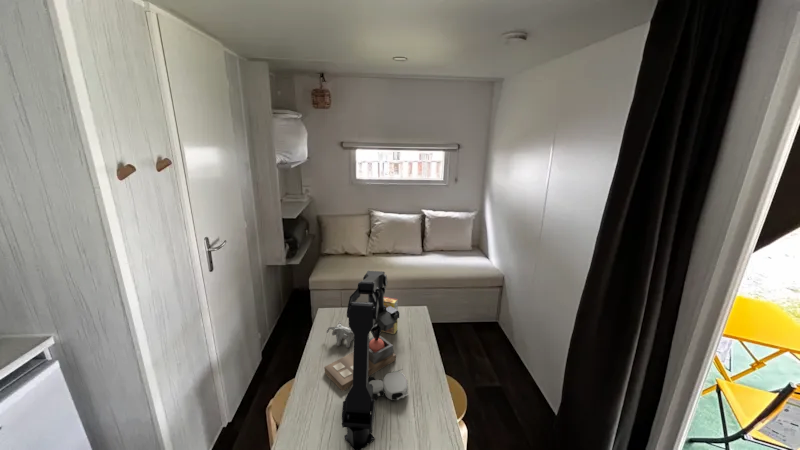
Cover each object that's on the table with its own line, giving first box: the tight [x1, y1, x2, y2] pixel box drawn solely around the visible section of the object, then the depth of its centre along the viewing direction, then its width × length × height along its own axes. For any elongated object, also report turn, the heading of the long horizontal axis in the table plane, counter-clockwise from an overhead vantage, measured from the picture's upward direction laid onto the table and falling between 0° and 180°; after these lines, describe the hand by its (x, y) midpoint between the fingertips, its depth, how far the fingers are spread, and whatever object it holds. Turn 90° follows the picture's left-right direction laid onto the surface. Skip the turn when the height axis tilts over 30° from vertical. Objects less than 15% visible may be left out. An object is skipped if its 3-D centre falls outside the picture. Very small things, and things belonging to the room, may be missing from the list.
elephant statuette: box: [326, 321, 354, 349], centre depth 139 cm, size 9×12×8 cm
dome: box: [369, 338, 384, 353], centre depth 129 cm, size 6×6×6 cm
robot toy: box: [368, 368, 410, 401], centre depth 114 cm, size 12×4×15 cm
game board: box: [323, 335, 397, 392], centre depth 125 cm, size 24×12×6 cm, turn 132°
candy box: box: [381, 296, 399, 335], centre depth 146 cm, size 9×4×15 cm, turn 70°
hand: (376, 339), depth 128 cm, fingers closed, pressing on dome
